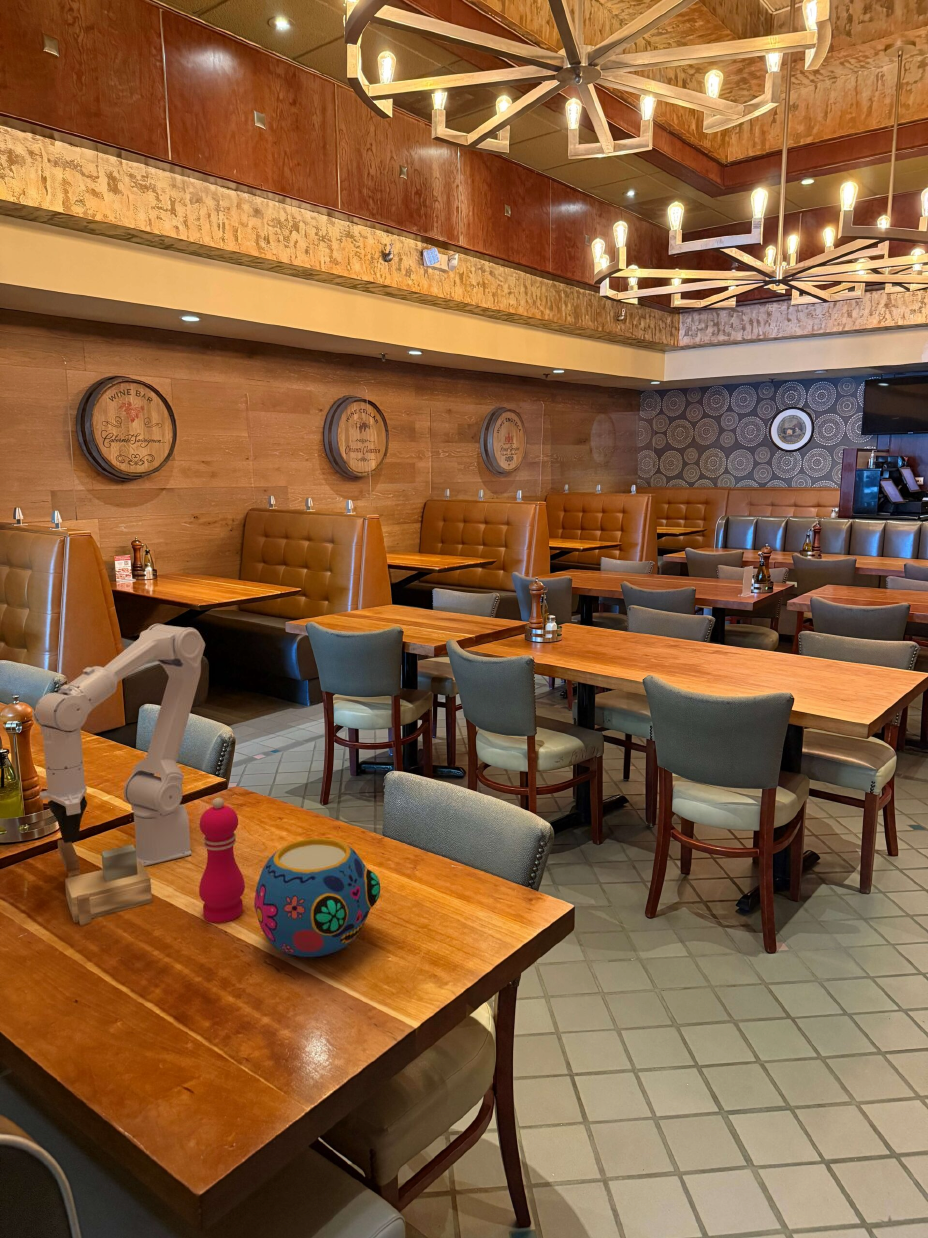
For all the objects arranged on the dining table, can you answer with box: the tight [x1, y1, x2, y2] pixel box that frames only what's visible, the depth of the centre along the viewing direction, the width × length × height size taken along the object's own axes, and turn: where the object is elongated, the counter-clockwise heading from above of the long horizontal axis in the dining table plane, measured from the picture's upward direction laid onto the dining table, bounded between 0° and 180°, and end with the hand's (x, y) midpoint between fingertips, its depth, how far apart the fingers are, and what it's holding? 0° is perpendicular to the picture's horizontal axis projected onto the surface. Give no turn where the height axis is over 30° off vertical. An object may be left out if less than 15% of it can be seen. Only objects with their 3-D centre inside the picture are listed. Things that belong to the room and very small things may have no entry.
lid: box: [64, 844, 152, 902], centre depth 136 cm, size 12×8×5 cm, turn 124°
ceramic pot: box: [253, 837, 381, 958], centre depth 123 cm, size 18×18×15 cm
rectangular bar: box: [57, 839, 80, 873], centre depth 142 cm, size 2×10×2 cm, turn 33°
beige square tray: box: [64, 869, 153, 926], centre depth 136 cm, size 12×11×4 cm
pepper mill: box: [198, 797, 246, 924], centre depth 132 cm, size 7×7×20 cm
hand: (70, 840), depth 138 cm, fingers closed
